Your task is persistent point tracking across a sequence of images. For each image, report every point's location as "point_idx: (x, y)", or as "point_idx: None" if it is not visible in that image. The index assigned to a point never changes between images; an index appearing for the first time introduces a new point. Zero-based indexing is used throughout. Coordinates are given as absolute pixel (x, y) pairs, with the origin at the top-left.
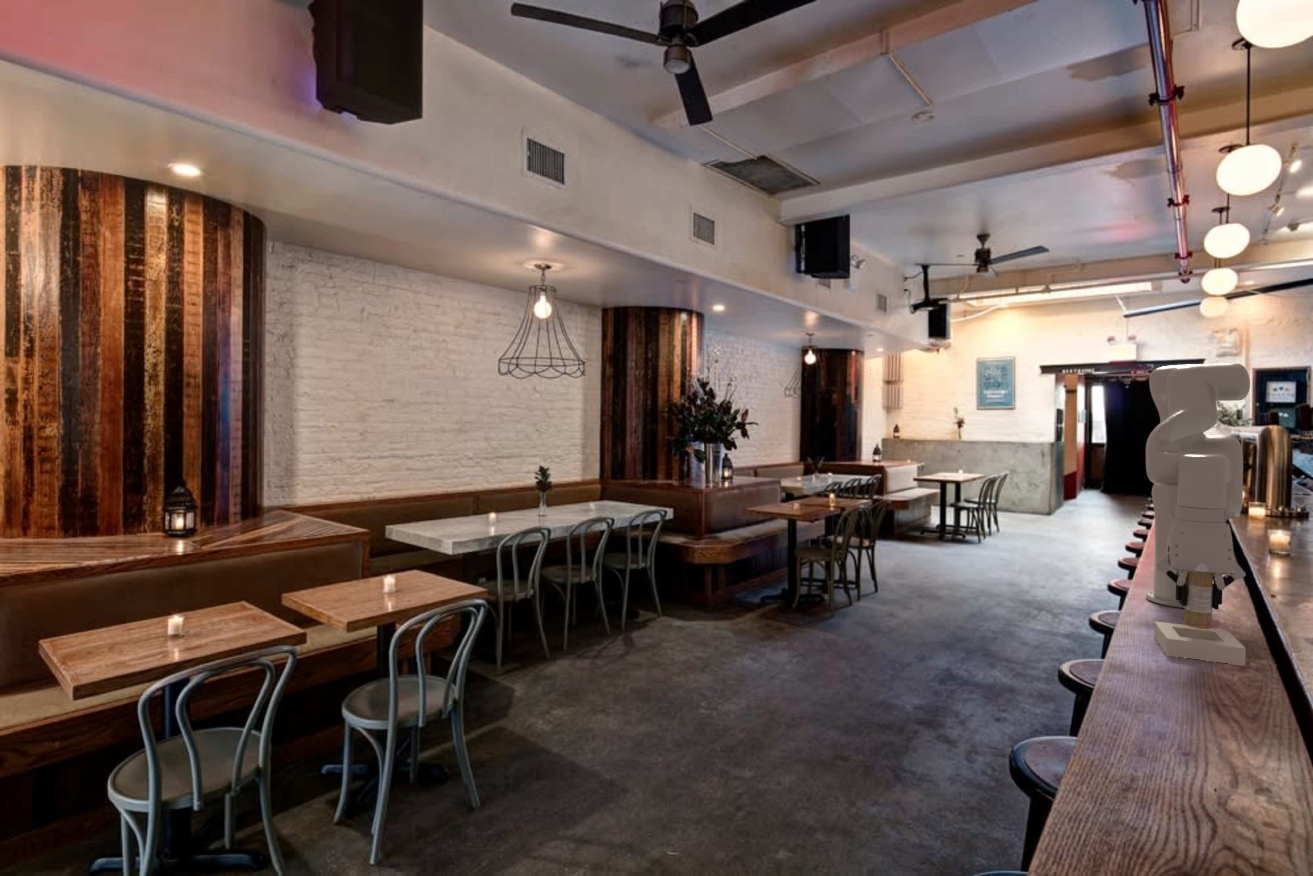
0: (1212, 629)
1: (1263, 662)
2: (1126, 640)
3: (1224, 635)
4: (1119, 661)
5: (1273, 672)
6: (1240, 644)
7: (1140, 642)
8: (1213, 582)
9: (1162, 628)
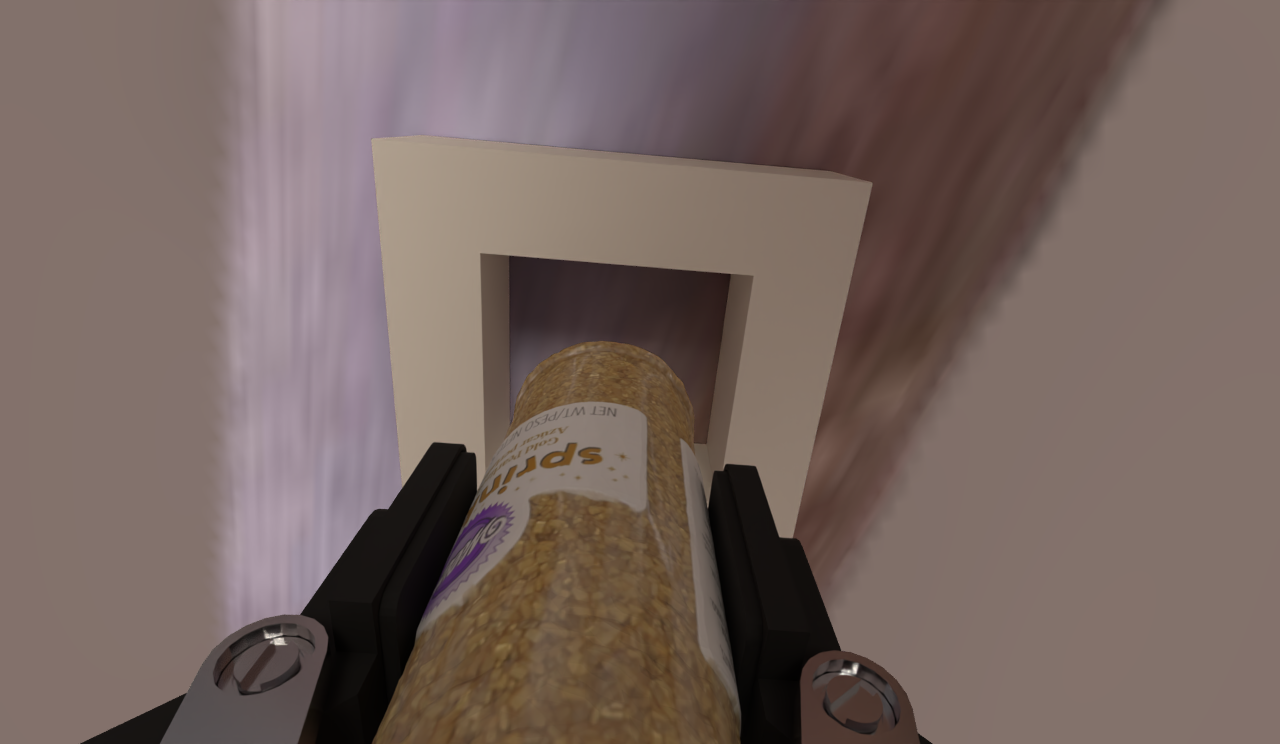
0: (762, 219)
1: (893, 411)
2: (257, 276)
3: (780, 358)
4: (240, 621)
5: (855, 539)
6: (790, 516)
7: (334, 286)
8: (796, 725)
9: (407, 338)
